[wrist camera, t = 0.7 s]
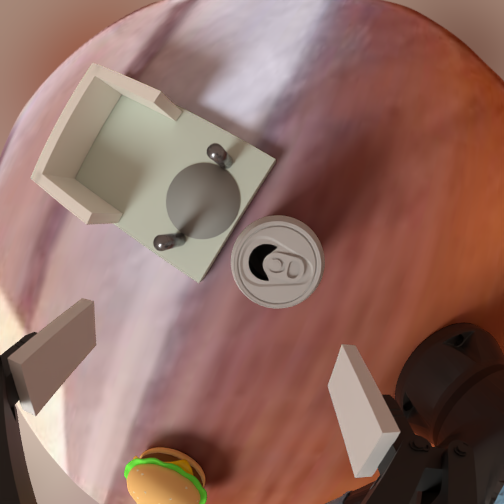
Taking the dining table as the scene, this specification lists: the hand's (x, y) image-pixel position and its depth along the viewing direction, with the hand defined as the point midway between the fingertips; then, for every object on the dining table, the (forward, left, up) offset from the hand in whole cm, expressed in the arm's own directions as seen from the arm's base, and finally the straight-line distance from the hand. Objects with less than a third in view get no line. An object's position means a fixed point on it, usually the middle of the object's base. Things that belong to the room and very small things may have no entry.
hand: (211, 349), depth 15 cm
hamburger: (-6, +30, -18) cm, 36 cm away
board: (+15, -5, -17) cm, 24 cm away
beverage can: (-1, -5, -18) cm, 18 cm away
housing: (+20, -5, -16) cm, 26 cm away
